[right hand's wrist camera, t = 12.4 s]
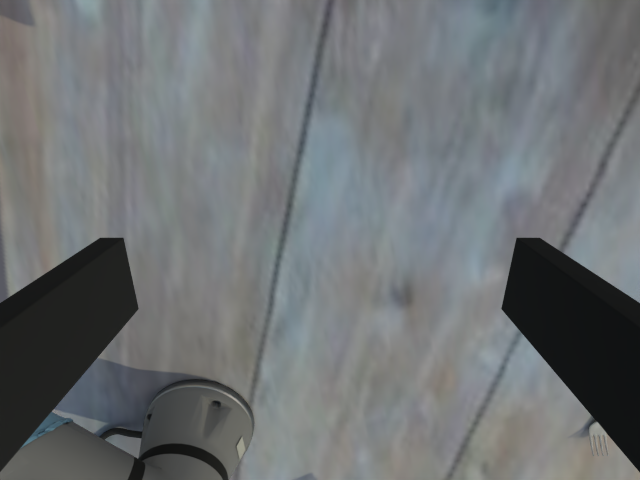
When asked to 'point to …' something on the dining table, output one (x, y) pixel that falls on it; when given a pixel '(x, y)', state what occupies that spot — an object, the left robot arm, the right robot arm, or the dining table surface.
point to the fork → (594, 431)
